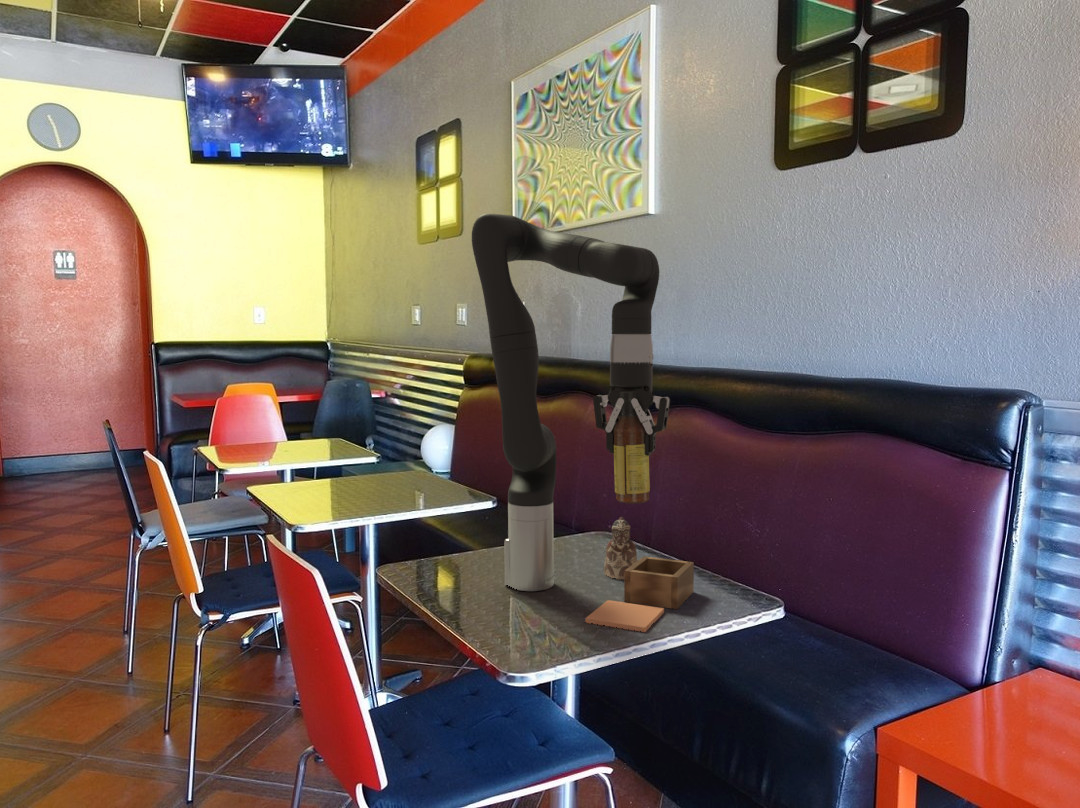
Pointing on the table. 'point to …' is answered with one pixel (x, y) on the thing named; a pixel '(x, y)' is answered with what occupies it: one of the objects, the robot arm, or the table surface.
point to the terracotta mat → (625, 615)
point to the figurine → (619, 550)
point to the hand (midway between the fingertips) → (630, 453)
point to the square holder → (659, 582)
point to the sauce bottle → (630, 455)
